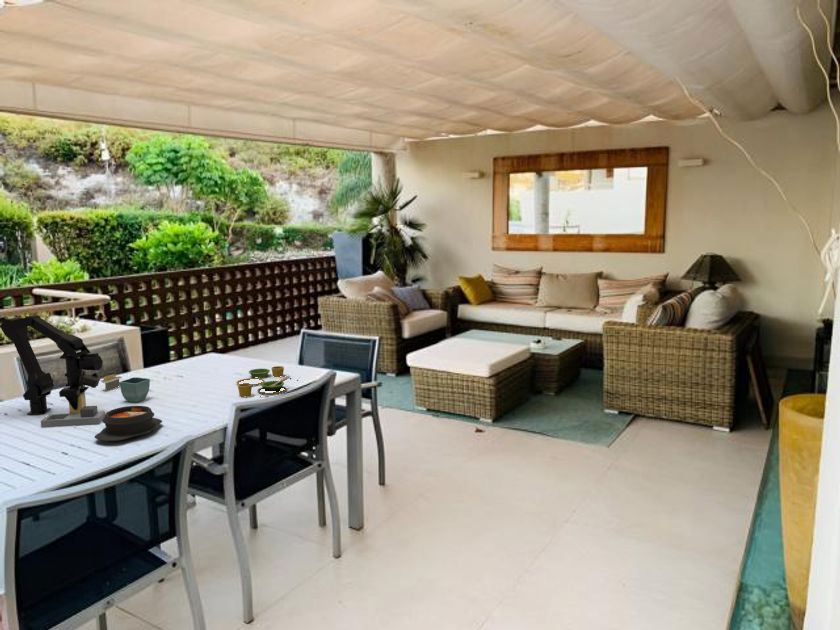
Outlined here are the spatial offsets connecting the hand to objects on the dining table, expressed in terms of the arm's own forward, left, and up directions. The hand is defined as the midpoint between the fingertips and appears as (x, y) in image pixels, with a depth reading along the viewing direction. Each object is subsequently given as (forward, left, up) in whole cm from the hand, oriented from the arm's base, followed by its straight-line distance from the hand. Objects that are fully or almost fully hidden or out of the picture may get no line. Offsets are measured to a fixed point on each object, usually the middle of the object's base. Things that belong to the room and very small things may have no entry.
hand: (77, 407), depth 246 cm
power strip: (+11, +2, -2) cm, 11 cm away
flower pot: (-15, +18, -3) cm, 24 cm away
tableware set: (-30, +70, -3) cm, 76 cm away
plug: (0, 0, -2) cm, 2 cm away
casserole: (+28, +26, -3) cm, 38 cm away
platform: (-37, +2, -3) cm, 37 cm away
